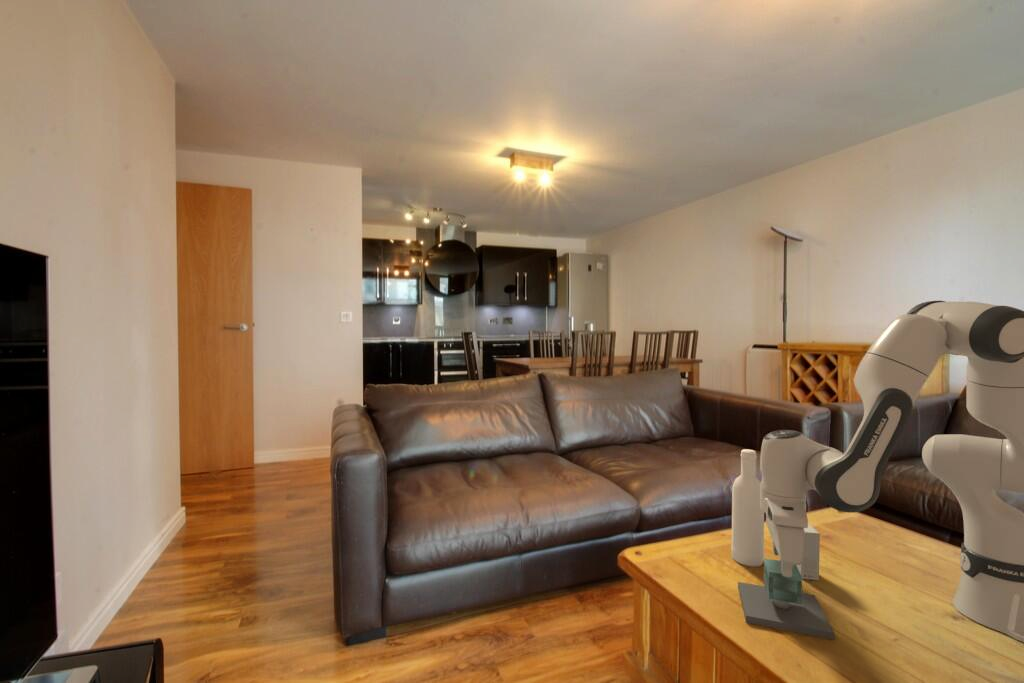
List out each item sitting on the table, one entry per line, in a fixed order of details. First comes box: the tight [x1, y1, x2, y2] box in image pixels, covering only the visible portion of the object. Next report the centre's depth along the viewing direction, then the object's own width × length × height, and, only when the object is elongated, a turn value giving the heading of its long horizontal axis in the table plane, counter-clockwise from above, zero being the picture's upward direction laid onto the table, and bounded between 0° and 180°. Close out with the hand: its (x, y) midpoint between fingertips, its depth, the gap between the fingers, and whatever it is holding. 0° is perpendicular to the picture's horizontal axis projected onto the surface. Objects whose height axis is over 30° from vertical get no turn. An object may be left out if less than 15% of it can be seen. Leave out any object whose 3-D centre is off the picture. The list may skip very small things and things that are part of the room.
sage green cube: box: [763, 557, 803, 604], centre depth 102 cm, size 6×6×6 cm
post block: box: [737, 581, 835, 641], centre depth 102 cm, size 16×14×9 cm
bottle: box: [730, 448, 765, 567], centre depth 125 cm, size 8×8×30 cm
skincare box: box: [796, 523, 821, 581], centre depth 117 cm, size 6×4×12 cm
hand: (781, 564), depth 102 cm, fingers open, 8 cm apart
